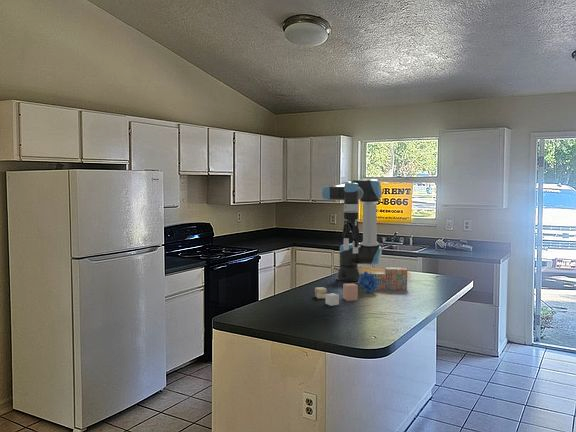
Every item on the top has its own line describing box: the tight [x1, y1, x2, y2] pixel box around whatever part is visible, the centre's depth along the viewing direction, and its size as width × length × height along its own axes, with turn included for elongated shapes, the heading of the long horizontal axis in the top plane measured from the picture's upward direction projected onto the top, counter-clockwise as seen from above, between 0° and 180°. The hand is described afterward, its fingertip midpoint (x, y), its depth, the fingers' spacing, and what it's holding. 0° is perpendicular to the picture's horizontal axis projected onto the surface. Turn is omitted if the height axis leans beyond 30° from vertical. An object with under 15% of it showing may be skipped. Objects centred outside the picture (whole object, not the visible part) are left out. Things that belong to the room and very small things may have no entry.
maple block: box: [314, 286, 328, 300], centre depth 275 cm, size 5×5×5 cm
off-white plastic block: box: [325, 292, 340, 306], centre depth 259 cm, size 5×5×5 cm
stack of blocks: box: [369, 266, 408, 291], centre depth 297 cm, size 21×6×12 cm, turn 85°
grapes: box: [358, 271, 378, 293], centre depth 285 cm, size 12×7×12 cm, turn 62°
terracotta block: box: [342, 282, 359, 302], centre depth 270 cm, size 6×6×8 cm
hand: (350, 251), depth 269 cm, fingers open, 13 cm apart
